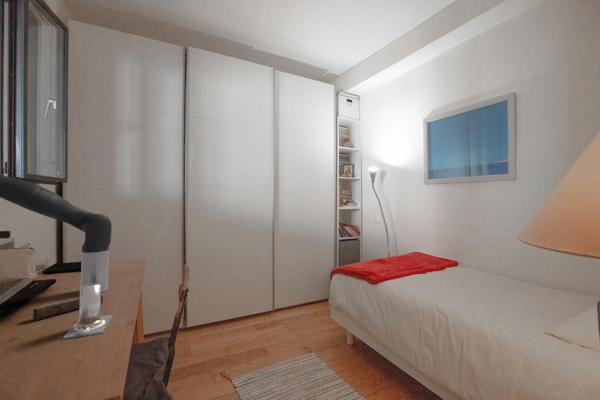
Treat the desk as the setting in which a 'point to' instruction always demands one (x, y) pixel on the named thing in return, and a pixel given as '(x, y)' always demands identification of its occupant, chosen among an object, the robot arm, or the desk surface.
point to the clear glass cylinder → (89, 305)
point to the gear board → (88, 329)
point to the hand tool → (57, 309)
